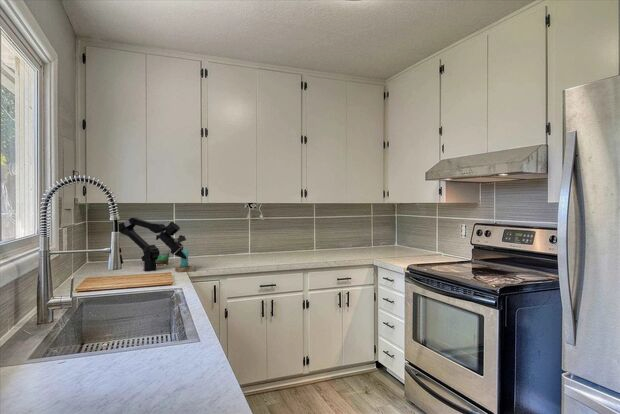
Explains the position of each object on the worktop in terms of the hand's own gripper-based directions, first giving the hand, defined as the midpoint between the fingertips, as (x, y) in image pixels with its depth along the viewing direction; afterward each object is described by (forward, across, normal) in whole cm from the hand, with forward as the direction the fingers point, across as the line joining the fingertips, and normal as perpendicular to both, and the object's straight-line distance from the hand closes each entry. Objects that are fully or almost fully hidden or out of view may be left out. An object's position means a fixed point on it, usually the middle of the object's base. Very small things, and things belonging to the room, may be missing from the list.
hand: (186, 257), depth 238 cm
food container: (-8, +32, +20) cm, 38 cm away
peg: (+5, 0, +7) cm, 8 cm away
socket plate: (+5, 0, +7) cm, 8 cm away
